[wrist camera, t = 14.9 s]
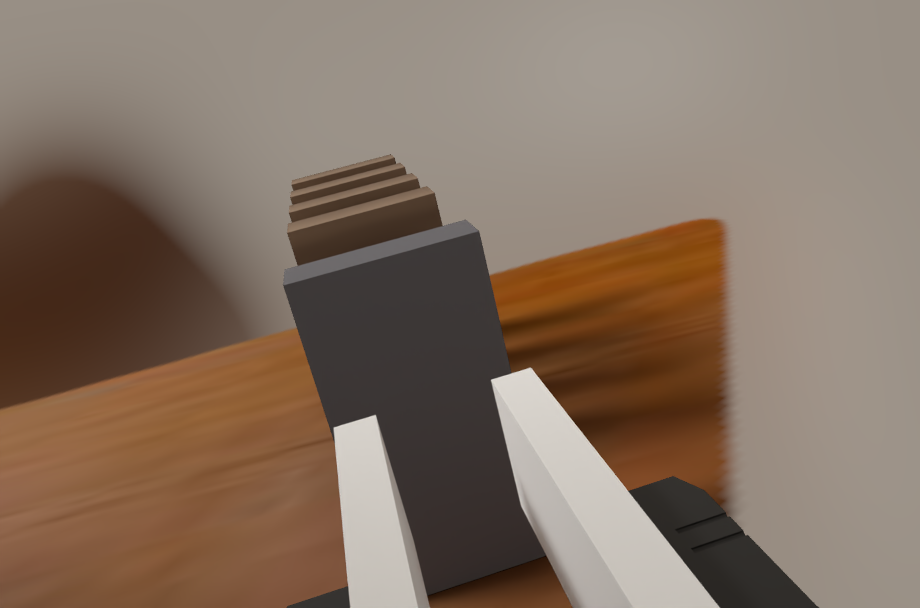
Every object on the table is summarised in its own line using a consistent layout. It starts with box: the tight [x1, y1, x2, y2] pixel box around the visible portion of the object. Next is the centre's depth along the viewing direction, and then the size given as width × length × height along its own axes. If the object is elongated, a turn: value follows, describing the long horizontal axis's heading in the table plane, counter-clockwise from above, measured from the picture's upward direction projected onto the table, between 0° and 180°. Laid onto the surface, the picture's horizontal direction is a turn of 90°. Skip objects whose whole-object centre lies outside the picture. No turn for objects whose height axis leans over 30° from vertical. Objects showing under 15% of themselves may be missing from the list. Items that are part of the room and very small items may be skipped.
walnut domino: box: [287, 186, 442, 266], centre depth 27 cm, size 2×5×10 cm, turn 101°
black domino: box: [283, 220, 546, 596], centre depth 21 cm, size 2×5×10 cm, turn 102°
